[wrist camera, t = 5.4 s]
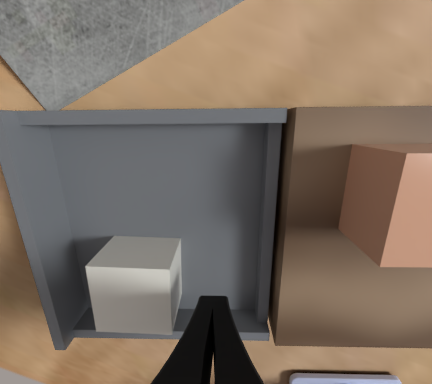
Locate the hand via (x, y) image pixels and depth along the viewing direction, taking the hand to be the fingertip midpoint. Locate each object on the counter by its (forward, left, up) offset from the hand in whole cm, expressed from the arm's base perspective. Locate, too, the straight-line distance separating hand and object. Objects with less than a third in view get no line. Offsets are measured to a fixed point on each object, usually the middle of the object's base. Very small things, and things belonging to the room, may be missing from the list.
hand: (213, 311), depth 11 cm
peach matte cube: (+6, -8, -1) cm, 10 cm away
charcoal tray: (+3, +3, -4) cm, 6 cm away
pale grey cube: (0, +4, 0) cm, 4 cm away
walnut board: (+3, -9, -4) cm, 10 cm away
